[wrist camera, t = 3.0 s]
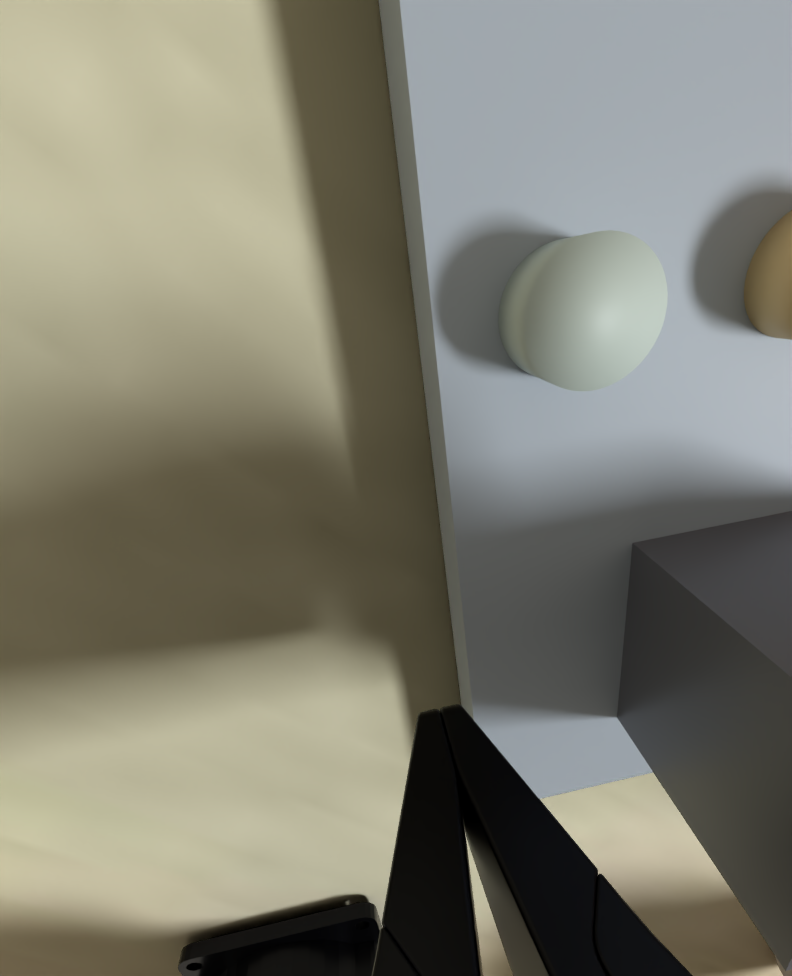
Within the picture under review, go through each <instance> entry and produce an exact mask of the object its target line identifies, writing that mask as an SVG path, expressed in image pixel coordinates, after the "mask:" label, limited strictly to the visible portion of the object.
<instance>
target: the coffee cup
mask: <svg viewBox="0 0 792 976" xmlns="http://www.w3.org/2000/svg"><path fill="white" fill-rule="evenodd" d="M775 958H776V956H775ZM776 961H777V964H778V967H779V969H780V971H781V972H782V974H783V976H792V970H788V971H785V970H784V968H783V967H782V965H781V964H780V962H779V961H778V959H777V958H776Z"/></svg>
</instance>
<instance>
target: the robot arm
mask: <svg viewBox="0 0 792 976" xmlns="http://www.w3.org/2000/svg"><path fill="white" fill-rule="evenodd" d="M465 833H466V837H467V840H468V843H469V846H470V849H471V852H472V855H473V858H474V861H475V864H476V867H477V870H478V873H479V876H480V879H481V882H482V885H483V888H484V891H485V894H486V897H487V900H488V903H489V906H490V909H491V911H492V914H493V917H494V920H495V923H496V926H497V929H498V932H499V935H500V938H501V941H502V944H503V947H504V950H505V953H506V956H507V959H508V962H509V965H510V968H511V970H512V973H513V976H692V975H691V974H690V972H689V971H688V970H687V969H686V968H685V967H684V966H683V965H682V964H681V963H680V962H679V961H678V960H677V959H676V958H675V957H674V956H673V955H672V953H671V952H670V951H669V950H668V949H667V948H666V947H665V946H664V945H663V944H662V943H661V942H660V941H659V940H658V939H657V938H656V937H655V936H654V934H653V933H652V932H651V931H650V930H649V929H648V928H647V926H646V925H645V924H644V923H643V922H642V921H641V919H640V918H639V917H638V916H637V915H636V914H635V913H634V911H633V910H632V909H631V908H630V907H629V906H628V905H627V903H626V902H625V901H624V900H623V899H622V898H621V896H620V895H619V894H618V893H617V892H616V890H615V889H614V888H613V887H612V886H611V884H610V883H609V882H608V881H607V880H606V878H605V877H604V876H603V875H602V874H599V875H598V870H597V868H596V867H595V865H594V864H593V863H592V862H591V861H590V859H589V858H588V857H587V856H586V855H585V853H584V852H583V851H582V850H581V849H580V847H579V846H578V845H577V844H576V843H575V841H574V840H573V839H572V838H571V837H570V835H569V834H568V833H567V832H566V831H565V829H564V828H563V827H562V826H561V825H560V823H559V822H558V821H557V820H556V819H555V817H554V816H553V815H552V814H551V812H550V811H549V810H548V809H547V808H546V806H545V805H544V804H543V803H542V802H541V800H540V799H539V798H538V797H537V796H536V794H535V793H534V792H533V791H532V790H531V788H530V787H529V786H528V785H527V784H526V782H525V781H524V780H523V779H522V778H521V776H520V775H519V774H518V773H517V772H516V770H515V769H514V768H513V767H512V766H511V764H510V763H509V762H508V761H507V759H506V758H505V757H504V756H503V755H502V753H501V752H500V751H499V750H498V749H497V747H496V746H495V745H494V744H493V743H492V741H491V740H490V739H489V738H488V737H487V735H486V734H485V733H484V732H483V731H482V729H481V728H480V727H479V726H478V725H477V723H476V722H475V721H474V720H473V719H472V717H471V716H470V715H469V714H468V713H467V711H466V710H465V709H464V708H463V707H462V706H461V705H459V704H456V705H451V706H447V707H443V708H441V710H440V711H439V710H437V709H433V710H428V711H424V712H420V713H419V715H418V718H417V723H416V729H415V735H414V741H413V746H412V752H411V758H410V763H409V769H408V775H407V781H406V786H405V792H404V798H403V804H402V809H401V815H400V821H399V826H398V832H397V838H396V844H395V849H394V855H393V861H392V867H391V872H390V878H389V884H388V889H387V895H386V901H385V907H384V912H383V918H382V925H383V927H382V925H381V922H380V919H379V916H378V912H377V909H376V907H375V905H374V904H372V903H367V902H363V903H357V904H353V905H348V906H344V907H340V908H336V909H332V910H328V911H324V912H319V913H315V914H311V915H307V916H303V917H299V918H295V919H290V920H286V921H282V922H278V923H274V924H270V925H266V926H262V927H257V928H253V929H249V930H245V931H241V932H237V933H233V934H228V935H224V936H220V937H216V938H212V939H208V940H204V941H199V942H195V943H192V944H189V945H187V946H185V947H184V948H183V950H182V952H181V956H180V961H179V965H178V969H179V971H180V973H181V974H182V975H183V976H483V972H482V964H481V956H480V948H479V940H478V932H477V924H476V916H475V908H474V900H473V891H472V883H471V875H470V867H469V859H468V851H467V844H466V837H465Z"/></svg>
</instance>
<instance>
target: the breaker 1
mask: <svg viewBox="0 0 792 976" xmlns="http://www.w3.org/2000/svg"><path fill="white" fill-rule="evenodd" d="M617 718H618V720H619V721H620V723H621V724H622V726H623V727H624V729H625V730H626V732H627V733H628V735H629V736H630V738H631V739H632V741H633V742H634V744H635V745H636V747H637V748H638V750H639V752H640V753H641V755H642V756H643V758H644V759H645V761H646V762H647V764H648V765H649V767H650V768H651V770H652V771H653V773H654V774H655V776H656V777H657V779H658V780H659V782H660V783H661V785H662V786H663V788H664V789H665V791H666V792H667V794H668V795H669V797H670V798H671V800H672V801H673V803H674V804H675V806H676V807H677V809H678V810H679V812H680V813H681V815H682V816H683V818H684V819H685V821H686V822H687V824H688V825H689V827H690V828H691V830H692V831H693V833H694V834H695V836H696V837H697V839H698V840H699V842H700V843H701V845H702V846H703V848H704V849H705V851H706V852H707V854H708V855H709V857H710V858H711V860H712V861H713V863H714V864H715V866H716V867H717V869H718V870H719V872H720V873H721V875H722V876H723V878H724V879H725V881H726V882H727V884H728V885H729V887H730V888H731V890H732V891H733V893H734V894H735V896H736V897H737V899H738V900H739V902H740V903H741V905H742V906H743V908H744V909H745V911H746V912H747V914H748V915H749V917H750V918H751V920H752V921H753V923H754V924H755V926H756V927H757V929H758V930H759V932H760V933H761V935H762V936H763V938H764V939H765V941H766V942H767V944H768V945H769V947H770V948H771V950H772V952H773V953H774V955H775V956H776V958H777V959H778V961H779V962H780V964H781V965H782V967H783V968H784V970H785V971H788V970H792V511H789V512H784V513H779V514H774V515H769V516H764V517H759V518H754V519H749V520H744V521H739V522H734V523H729V524H724V525H719V526H714V527H709V528H704V529H699V530H694V531H689V532H684V533H679V534H674V535H669V536H664V537H659V538H654V539H649V540H644V541H639V542H634V543H632V553H631V565H630V576H629V587H628V598H627V610H626V621H625V632H624V643H623V654H622V666H621V677H620V688H619V699H618V711H617Z"/></svg>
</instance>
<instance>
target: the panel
mask: <svg viewBox="0 0 792 976" xmlns="http://www.w3.org/2000/svg"><path fill="white" fill-rule="evenodd" d="M379 8H380V17H381V25H382V34H383V43H384V51H385V60H386V68H387V77H388V85H389V94H390V102H391V111H392V119H393V128H394V136H395V145H396V153H397V162H398V170H399V179H400V187H401V196H402V204H403V213H404V221H405V230H406V238H407V247H408V255H409V264H410V272H411V281H412V289H413V298H414V306H415V315H416V323H417V332H418V340H419V349H420V357H421V366H422V374H423V383H424V391H425V400H426V408H427V417H428V425H429V434H430V442H431V451H432V459H433V468H434V477H435V485H436V494H437V502H438V511H439V519H440V528H441V536H442V545H443V553H444V562H445V570H446V579H447V587H448V596H449V604H450V613H451V621H452V630H453V638H454V647H455V655H456V664H457V672H458V681H459V689H460V698H461V706H462V707H463V708H464V709H465V710H466V711H467V713H468V714H469V715H470V716H471V717H472V719H473V720H474V721H475V722H476V723H477V725H478V726H479V727H480V728H481V729H482V731H483V732H484V733H485V734H486V735H487V737H488V738H489V739H490V740H491V741H492V743H493V744H494V745H495V746H496V747H497V749H498V750H499V751H500V752H501V753H502V755H503V756H504V757H505V758H506V759H507V761H508V762H509V763H510V764H511V766H512V767H513V768H514V769H515V770H516V772H517V773H518V774H519V775H520V776H521V778H522V779H523V780H524V781H525V782H526V784H527V785H528V786H529V787H530V788H531V790H532V791H533V792H534V793H535V794H536V796H537V797H538V798H539V799H541V798H545V797H549V796H554V795H558V794H562V793H567V792H571V791H575V790H579V789H584V788H588V787H592V786H597V785H601V784H605V783H609V782H614V781H618V780H622V779H627V778H631V777H635V776H639V775H644V774H648V773H652V772H653V771H652V770H651V768H650V767H649V765H648V764H647V762H646V761H645V759H644V758H643V756H642V755H641V753H640V752H639V750H638V748H637V747H636V745H635V744H634V742H633V741H632V739H631V738H630V736H629V735H628V733H627V732H626V730H625V729H624V727H623V726H622V724H621V723H620V721H619V720H618V718H617V711H618V699H619V688H620V677H621V666H622V654H623V643H624V632H625V621H626V610H627V598H628V587H629V576H630V565H631V553H632V543H634V542H639V541H644V540H649V539H654V538H659V537H664V536H669V535H674V534H679V533H684V532H689V531H694V530H699V529H704V528H709V527H714V526H719V525H724V524H729V523H734V522H739V521H744V520H749V519H754V518H759V517H764V516H769V515H774V514H779V513H784V512H789V511H792V0H379Z"/></svg>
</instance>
